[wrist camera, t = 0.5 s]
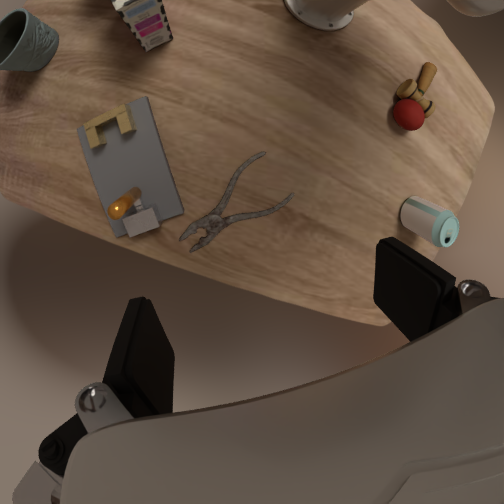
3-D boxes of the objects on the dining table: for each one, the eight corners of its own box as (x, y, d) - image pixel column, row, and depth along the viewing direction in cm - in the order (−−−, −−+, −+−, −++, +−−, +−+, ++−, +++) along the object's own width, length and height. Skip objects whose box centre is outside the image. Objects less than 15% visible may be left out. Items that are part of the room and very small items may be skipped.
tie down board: (80, 128, 33) (76, 129, 31) (147, 97, 33) (145, 96, 32) (118, 234, 41) (116, 237, 40) (184, 210, 41) (183, 212, 40)
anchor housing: (127, 213, 38) (122, 219, 36) (155, 202, 39) (152, 207, 36) (134, 230, 40) (129, 237, 37) (162, 220, 40) (159, 226, 37)
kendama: (407, 53, 35) (380, 110, 38) (432, 51, 30) (408, 110, 32) (425, 80, 39) (400, 137, 42) (448, 80, 34) (427, 141, 36)
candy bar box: (175, 38, 30) (160, -11, 15) (146, 53, 30) (114, 12, 15) (151, -6, 25) (131, -58, 10) (123, 8, 25) (90, -37, 10)
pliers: (302, 187, 42) (221, 274, 47) (300, 186, 43) (221, 272, 47) (259, 146, 39) (175, 242, 43) (258, 146, 39) (176, 240, 44)
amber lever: (127, 189, 37) (104, 206, 28) (138, 184, 37) (118, 200, 28) (143, 229, 40) (126, 257, 31) (154, 225, 40) (140, 252, 31)
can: (425, 213, 49) (464, 234, 38) (405, 234, 50) (442, 258, 39) (415, 188, 46) (457, 205, 36) (393, 209, 47) (434, 230, 37)
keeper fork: (91, 124, 32) (83, 124, 29) (130, 105, 32) (124, 103, 29) (98, 147, 33) (90, 148, 31) (137, 129, 34) (131, 129, 31)
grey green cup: (71, 25, 24) (38, 3, 13) (49, 77, 27) (9, 67, 16) (32, 29, 21) (-2, 14, 10) (13, 77, 24) (-27, 72, 13)
